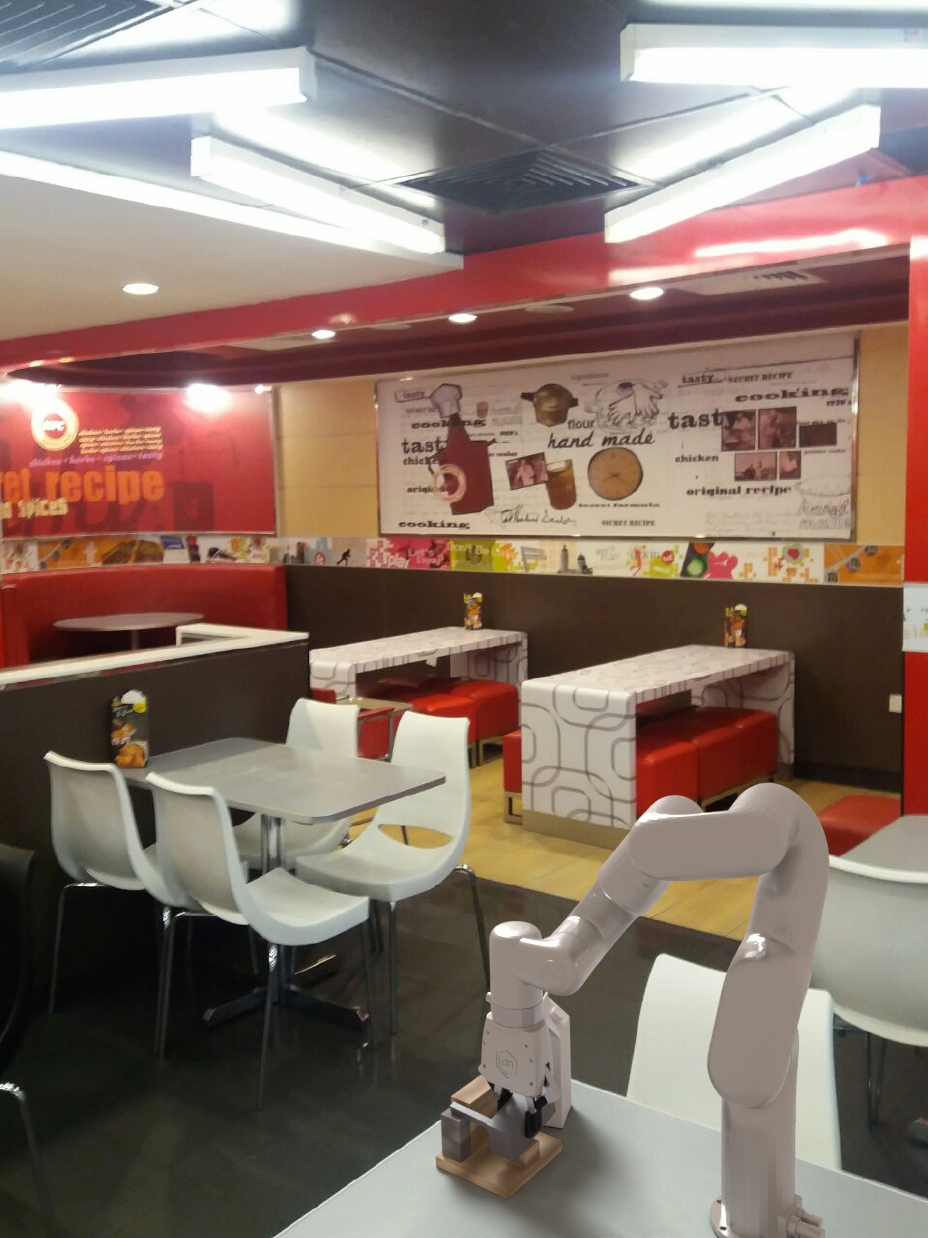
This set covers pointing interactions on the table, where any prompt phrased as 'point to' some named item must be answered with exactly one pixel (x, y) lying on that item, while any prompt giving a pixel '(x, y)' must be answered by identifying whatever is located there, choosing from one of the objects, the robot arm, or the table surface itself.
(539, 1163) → the stacked wooden blocks
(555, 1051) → the milk carton
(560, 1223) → the table surface
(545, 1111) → the grey bracket
